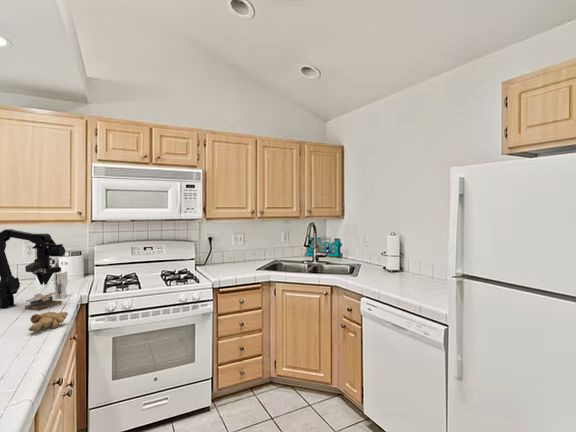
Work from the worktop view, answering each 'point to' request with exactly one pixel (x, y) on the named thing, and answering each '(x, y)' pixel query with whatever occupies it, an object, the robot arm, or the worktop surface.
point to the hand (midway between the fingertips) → (43, 284)
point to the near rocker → (33, 299)
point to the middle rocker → (42, 297)
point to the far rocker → (50, 294)
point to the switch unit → (42, 304)
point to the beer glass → (60, 284)
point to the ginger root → (47, 320)
